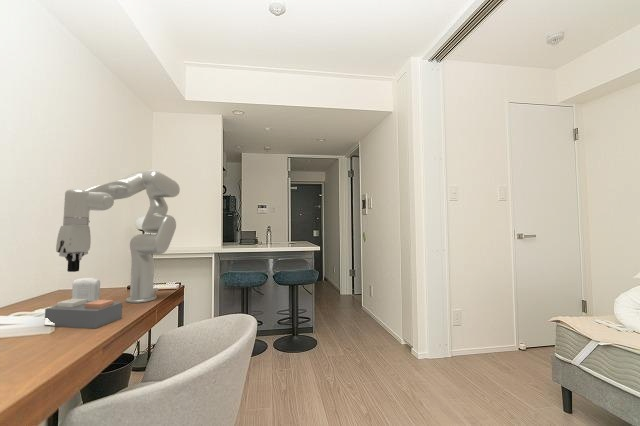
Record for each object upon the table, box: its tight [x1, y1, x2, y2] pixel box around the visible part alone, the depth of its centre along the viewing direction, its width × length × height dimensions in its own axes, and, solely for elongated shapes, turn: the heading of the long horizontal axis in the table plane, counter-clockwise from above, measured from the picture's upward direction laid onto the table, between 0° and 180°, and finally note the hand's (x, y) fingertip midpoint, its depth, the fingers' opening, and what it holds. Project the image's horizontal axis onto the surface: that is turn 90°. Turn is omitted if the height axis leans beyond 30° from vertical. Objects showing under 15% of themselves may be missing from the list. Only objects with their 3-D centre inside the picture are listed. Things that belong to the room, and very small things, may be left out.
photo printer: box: [71, 277, 101, 301], centre depth 131 cm, size 10×4×12 cm, turn 98°
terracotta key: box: [85, 299, 114, 309], centre depth 110 cm, size 6×6×4 cm
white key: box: [56, 298, 87, 308], centre depth 111 cm, size 6×6×4 cm
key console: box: [44, 301, 123, 329], centre depth 110 cm, size 12×20×6 cm, turn 85°
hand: (73, 271), depth 111 cm, fingers closed
